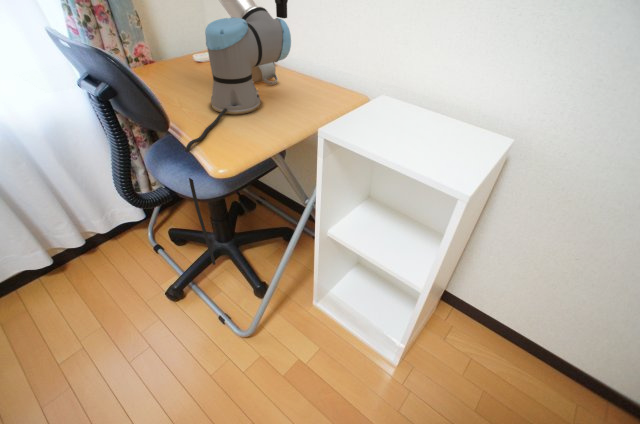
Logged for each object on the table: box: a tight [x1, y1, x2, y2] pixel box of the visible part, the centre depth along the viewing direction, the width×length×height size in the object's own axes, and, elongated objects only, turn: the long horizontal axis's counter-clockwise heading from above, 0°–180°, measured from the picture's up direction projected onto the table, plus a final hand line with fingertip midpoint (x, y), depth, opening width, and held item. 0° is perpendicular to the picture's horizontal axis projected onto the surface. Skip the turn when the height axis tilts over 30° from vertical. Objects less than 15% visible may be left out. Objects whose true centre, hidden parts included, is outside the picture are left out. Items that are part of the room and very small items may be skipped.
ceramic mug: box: [251, 62, 279, 86], centre depth 113 cm, size 11×8×8 cm
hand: (281, 17), depth 86 cm, fingers closed
